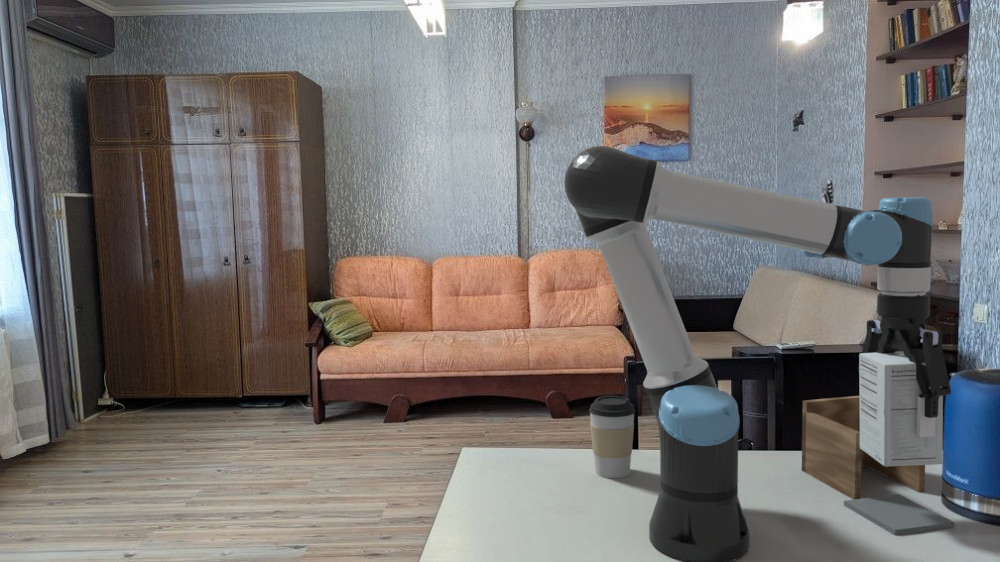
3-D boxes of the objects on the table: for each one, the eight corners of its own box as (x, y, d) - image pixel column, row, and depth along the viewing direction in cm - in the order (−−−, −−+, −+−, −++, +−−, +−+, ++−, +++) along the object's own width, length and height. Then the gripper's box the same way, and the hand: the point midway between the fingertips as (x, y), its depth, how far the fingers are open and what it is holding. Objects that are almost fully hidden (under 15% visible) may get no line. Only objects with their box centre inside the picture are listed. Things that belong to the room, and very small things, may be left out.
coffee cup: (585, 478, 142) (585, 402, 140) (593, 462, 151) (593, 391, 149) (632, 482, 139) (632, 405, 138) (638, 466, 148) (637, 393, 146)
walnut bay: (854, 499, 129) (856, 422, 127) (801, 470, 143) (802, 400, 142) (924, 491, 132) (926, 415, 130) (865, 463, 146) (867, 395, 145)
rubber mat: (894, 534, 115) (895, 530, 115) (843, 505, 126) (843, 500, 126) (954, 526, 117) (954, 522, 117) (898, 498, 129) (898, 494, 129)
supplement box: (913, 446, 125) (915, 349, 123) (944, 465, 116) (946, 361, 114) (857, 448, 126) (857, 351, 124) (883, 467, 116) (884, 363, 115)
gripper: (983, 299, 108) (977, 445, 110) (873, 285, 130) (871, 406, 132) (939, 302, 106) (935, 450, 108) (836, 287, 128) (834, 410, 130)
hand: (900, 426), depth 120 cm, fingers closed on supplement box, 10 cm apart
